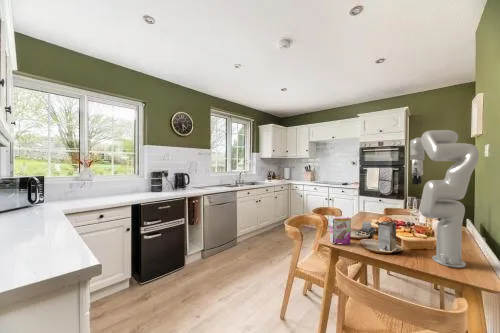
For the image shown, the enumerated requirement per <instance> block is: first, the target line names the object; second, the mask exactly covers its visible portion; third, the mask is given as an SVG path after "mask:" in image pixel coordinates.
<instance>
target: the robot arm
mask: <svg viewBox="0 0 500 333" xmlns="http://www.w3.org/2000/svg"><path fill="white" fill-rule="evenodd" d="M458 139H459V135H458V133H457V132H456V131H454V130H451V129H450V130H449V129H440V130H439V129H438V130H437V129H436V130H432V129H431V130H426V131H425V132H423V133H422V134H421V137H415V138H413V139H411V140H410V141H409V142H410V144H409V146H410V147H409V153H410V154H409V160H410V161H411V175H412V182H411V183H412V185H416V186H417V185H420V184H422V176H423V175H424V163H423V161H425V152H426V154H427V157H429V159H430V160H432V161H434V162H454V164H452V165H450V167H449V168H448V169H447V171H446V173H445V176H444V179H431V180H428V181H427V182H426V183H425V184H424V186H423V190H422V194H421V198H420V206H419V212H420V213H421V215H422V216H423V217H424V218H428V219H440V220H439V221H438V222H437V224H436V245H435V246H436V251H435V252H436V254H435V255H434V254H433V256H432V258H431V259H432V260H433V262H436V263H437V264H440V265H443V266H447V267H451V268H458V269H461V268H465V267H466V266H467V263H466V262H465V261H464V260H462V254H463V253H462V251H463V250H462V249H463V248H462V246H463V245H462V241H463V221H464V218H465V214H466V213H465V212H466V207H465V206H464V204H463V203H462V202H461V201H459V200H462V199H464V197H465V195H466V194H467V191H468V187H469V183H470V180H471V176H472V174H473V171H474V170H475V169H476V167H477V164H478V162H479V160H480V153H479V149H478V147H477V146H476V145H474V144H472V143H466V142H465V143H462V142H458Z"/></svg>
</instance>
